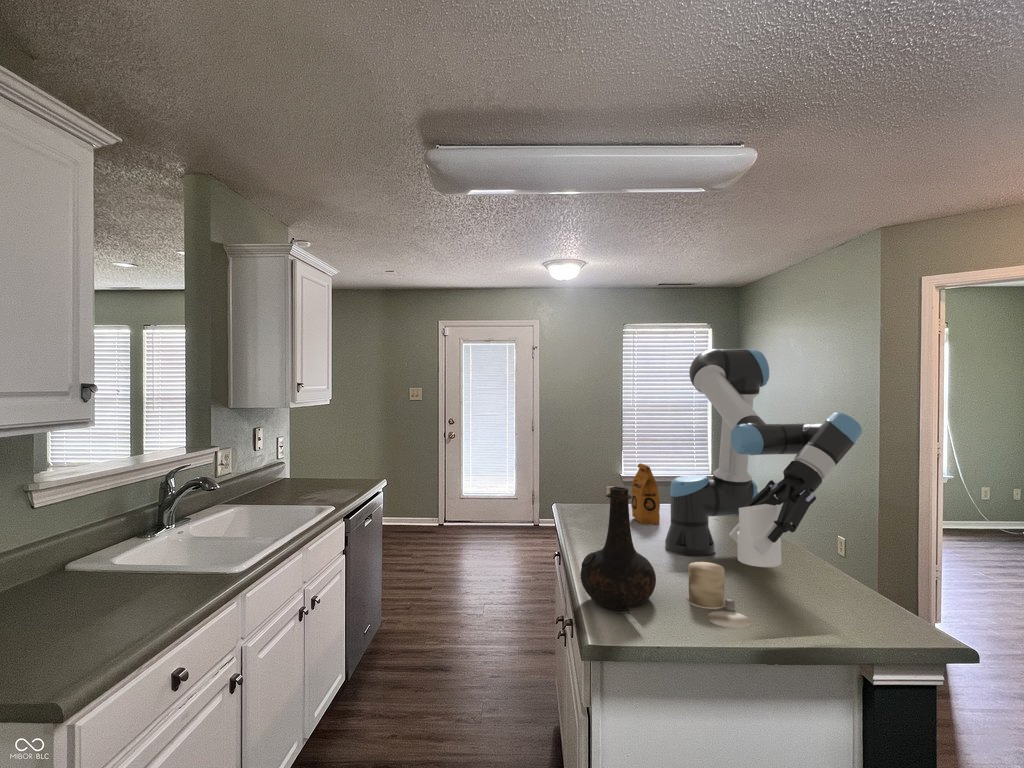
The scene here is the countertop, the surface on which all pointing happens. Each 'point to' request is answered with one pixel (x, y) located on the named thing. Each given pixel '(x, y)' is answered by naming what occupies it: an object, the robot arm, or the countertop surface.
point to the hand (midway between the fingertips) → (745, 544)
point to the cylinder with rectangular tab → (757, 536)
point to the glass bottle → (618, 562)
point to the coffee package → (645, 497)
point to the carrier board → (727, 616)
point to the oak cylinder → (706, 584)
